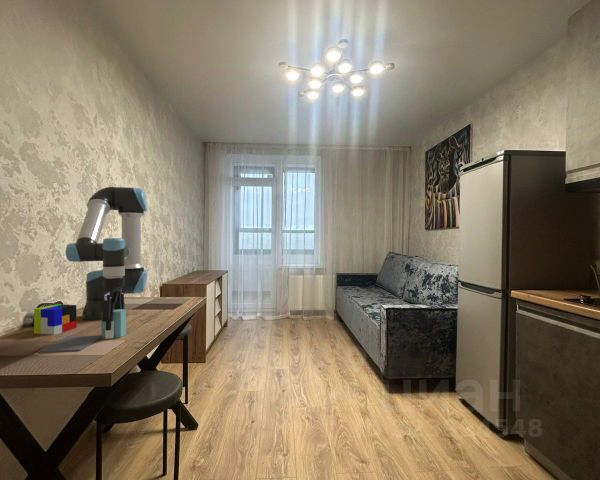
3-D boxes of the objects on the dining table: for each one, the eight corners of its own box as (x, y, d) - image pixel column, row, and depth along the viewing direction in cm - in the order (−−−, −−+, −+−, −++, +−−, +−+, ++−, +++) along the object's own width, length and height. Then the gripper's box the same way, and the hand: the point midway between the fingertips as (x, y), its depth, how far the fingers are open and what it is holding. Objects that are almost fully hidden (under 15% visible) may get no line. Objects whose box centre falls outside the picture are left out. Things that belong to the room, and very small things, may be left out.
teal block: (107, 334, 127) (107, 309, 127) (125, 333, 128) (125, 309, 128) (101, 338, 123) (101, 312, 123) (120, 337, 124) (120, 311, 124)
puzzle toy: (54, 334, 127) (54, 310, 127) (34, 333, 129) (34, 308, 129) (76, 328, 137) (76, 305, 137) (57, 326, 139) (57, 304, 139)
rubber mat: (67, 338, 123) (67, 336, 123) (103, 336, 124) (103, 335, 124) (38, 352, 107) (38, 350, 107) (79, 351, 108) (79, 349, 108)
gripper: (115, 274, 135) (115, 328, 135) (90, 280, 115) (90, 343, 115) (134, 274, 136) (134, 328, 135) (112, 279, 116) (112, 342, 116)
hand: (114, 335), depth 125 cm, fingers open, 7 cm apart
